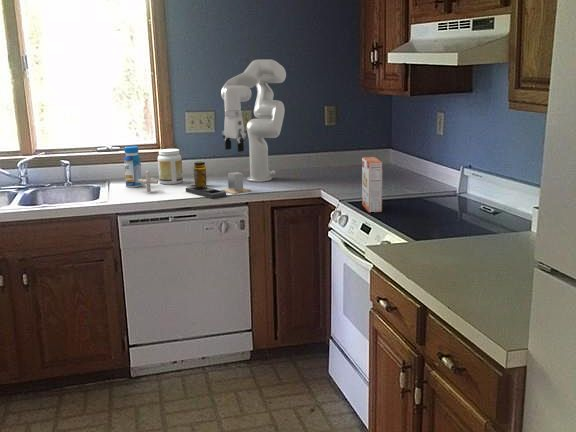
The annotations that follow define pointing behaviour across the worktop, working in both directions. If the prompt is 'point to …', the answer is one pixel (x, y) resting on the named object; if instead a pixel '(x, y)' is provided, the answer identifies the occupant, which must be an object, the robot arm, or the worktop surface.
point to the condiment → (199, 174)
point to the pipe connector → (148, 181)
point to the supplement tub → (170, 166)
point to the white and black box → (235, 181)
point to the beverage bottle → (132, 166)
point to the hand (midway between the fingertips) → (234, 150)
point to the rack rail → (206, 192)
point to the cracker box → (372, 184)
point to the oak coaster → (236, 191)
